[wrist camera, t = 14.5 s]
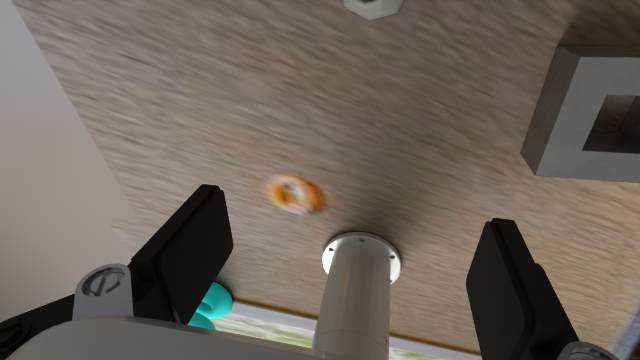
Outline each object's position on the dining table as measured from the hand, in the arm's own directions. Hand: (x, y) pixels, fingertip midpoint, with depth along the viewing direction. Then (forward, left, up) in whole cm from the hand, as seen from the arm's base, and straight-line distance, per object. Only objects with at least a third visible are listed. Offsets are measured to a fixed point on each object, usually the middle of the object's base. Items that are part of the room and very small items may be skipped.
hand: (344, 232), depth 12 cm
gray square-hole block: (-5, -23, -29) cm, 37 cm away
